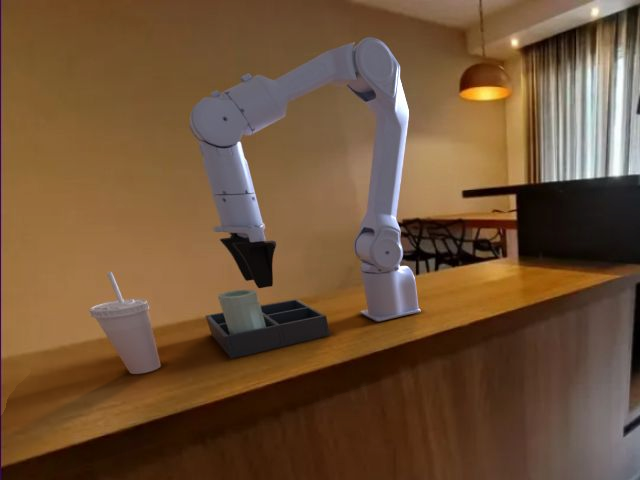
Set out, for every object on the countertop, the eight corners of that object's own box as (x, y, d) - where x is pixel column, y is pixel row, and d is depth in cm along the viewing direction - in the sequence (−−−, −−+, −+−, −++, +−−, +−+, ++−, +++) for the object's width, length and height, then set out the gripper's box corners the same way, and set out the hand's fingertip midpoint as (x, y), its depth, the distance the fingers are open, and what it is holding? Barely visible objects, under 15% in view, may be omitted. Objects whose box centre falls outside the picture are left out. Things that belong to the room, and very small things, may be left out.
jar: (264, 334, 75) (251, 287, 72) (273, 341, 72) (259, 293, 68) (230, 341, 72) (215, 293, 69) (237, 349, 69) (222, 299, 65)
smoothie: (182, 360, 67) (147, 268, 61) (146, 378, 61) (104, 278, 55) (144, 359, 68) (105, 268, 62) (105, 377, 62) (59, 278, 56)
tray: (300, 316, 87) (296, 299, 85) (330, 335, 77) (326, 315, 75) (211, 335, 78) (205, 315, 76) (231, 358, 67) (224, 336, 66)
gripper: (195, 194, 69) (221, 280, 75) (214, 196, 59) (243, 295, 65) (244, 192, 73) (265, 274, 79) (269, 194, 64) (292, 287, 70)
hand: (258, 283), depth 73 cm, fingers open, 7 cm apart
